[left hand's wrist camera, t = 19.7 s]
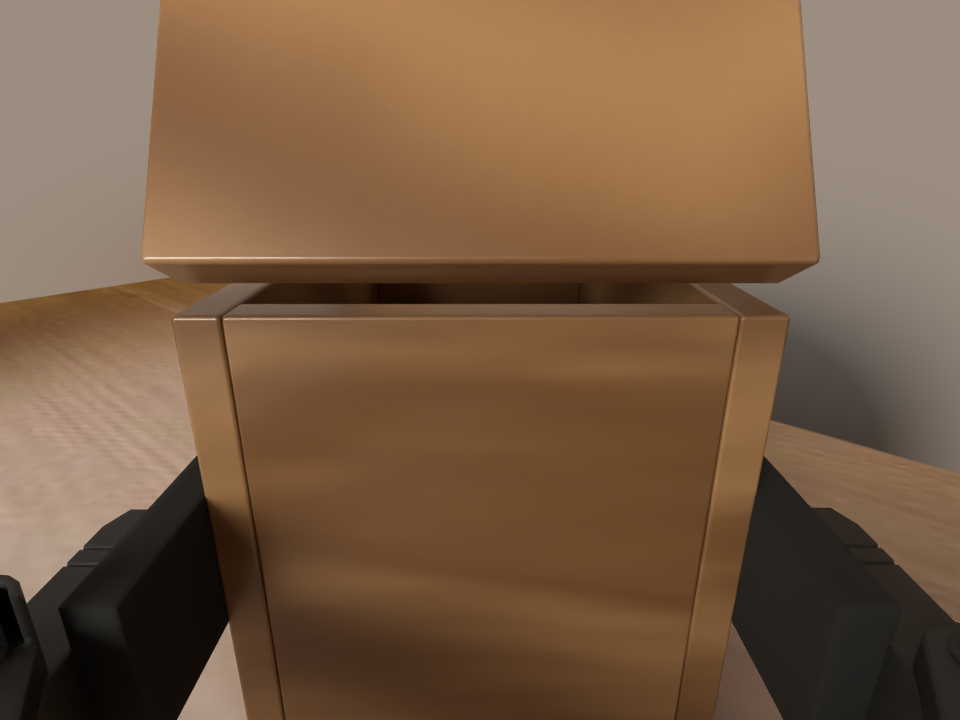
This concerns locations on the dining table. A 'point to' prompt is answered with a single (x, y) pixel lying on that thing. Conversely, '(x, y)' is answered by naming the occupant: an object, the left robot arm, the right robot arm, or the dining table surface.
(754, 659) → the left robot arm
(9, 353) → the dining table surface
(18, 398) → the dining table surface
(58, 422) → the dining table surface
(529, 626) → the chest
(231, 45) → the lid
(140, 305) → the dining table surface
